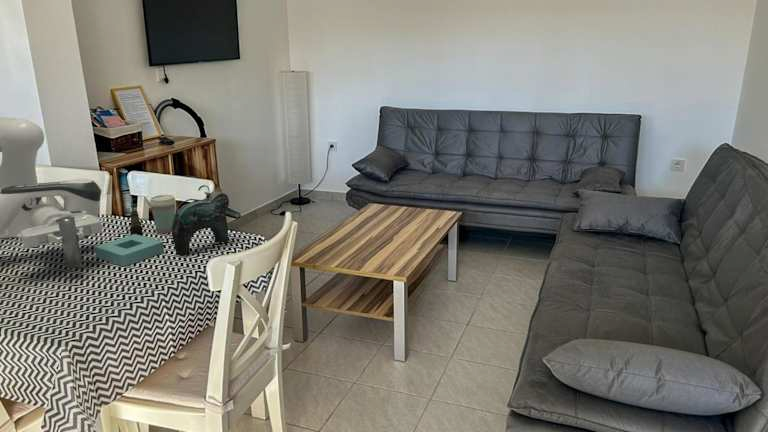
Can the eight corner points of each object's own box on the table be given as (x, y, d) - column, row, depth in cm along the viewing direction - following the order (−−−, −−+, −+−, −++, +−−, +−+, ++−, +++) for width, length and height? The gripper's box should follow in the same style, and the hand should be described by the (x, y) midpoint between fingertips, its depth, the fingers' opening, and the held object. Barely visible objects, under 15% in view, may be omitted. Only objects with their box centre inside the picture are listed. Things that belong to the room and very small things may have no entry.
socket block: (95, 257, 178) (94, 246, 177) (136, 244, 189) (134, 233, 188) (124, 266, 171) (122, 255, 170) (164, 252, 182) (163, 241, 181)
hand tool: (143, 235, 197) (141, 222, 196) (130, 237, 196) (128, 224, 195) (143, 220, 214) (142, 208, 213) (131, 221, 213) (130, 209, 212)
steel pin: (63, 267, 162) (54, 219, 158) (77, 262, 165) (69, 215, 161) (71, 270, 160) (63, 222, 156) (85, 265, 163) (77, 218, 159)
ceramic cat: (224, 237, 196) (219, 179, 190) (236, 241, 192) (231, 182, 186) (171, 253, 181) (164, 191, 175) (182, 258, 177) (176, 195, 171)
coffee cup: (175, 225, 208) (171, 193, 204) (182, 232, 201) (178, 198, 197) (150, 229, 203) (146, 196, 199) (156, 236, 196) (152, 202, 193)
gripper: (12, 224, 162) (25, 236, 152) (90, 209, 175) (107, 220, 165) (17, 245, 163) (29, 259, 154) (94, 229, 177) (110, 240, 167)
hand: (70, 238), depth 160 cm, fingers closed on steel pin, 4 cm apart
